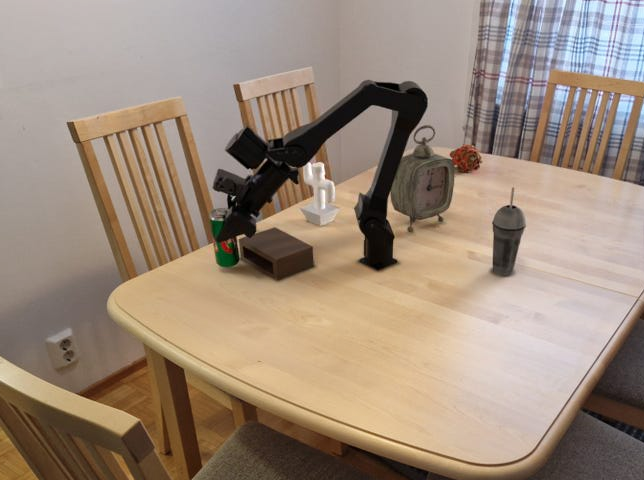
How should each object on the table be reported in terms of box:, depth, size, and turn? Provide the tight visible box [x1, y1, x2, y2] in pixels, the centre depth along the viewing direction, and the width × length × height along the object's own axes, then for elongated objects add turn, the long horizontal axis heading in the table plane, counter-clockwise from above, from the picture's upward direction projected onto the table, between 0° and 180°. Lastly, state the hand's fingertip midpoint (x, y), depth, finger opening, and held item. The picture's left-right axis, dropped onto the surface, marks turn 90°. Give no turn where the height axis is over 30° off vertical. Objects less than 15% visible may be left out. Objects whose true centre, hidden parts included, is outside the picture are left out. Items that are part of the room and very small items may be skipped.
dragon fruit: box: [447, 144, 483, 173], centre depth 201 cm, size 8×8×12 cm
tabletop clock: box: [390, 124, 455, 234], centre depth 160 cm, size 14×9×25 cm, turn 131°
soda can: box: [208, 207, 241, 269], centre depth 138 cm, size 5×5×12 cm
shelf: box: [238, 226, 315, 281], centre depth 145 cm, size 14×10×5 cm
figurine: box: [299, 161, 341, 227], centre depth 162 cm, size 7×9×15 cm
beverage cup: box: [491, 187, 527, 277], centre depth 141 cm, size 7×7×20 cm
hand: (217, 236), depth 138 cm, fingers closed on soda can, 5 cm apart
